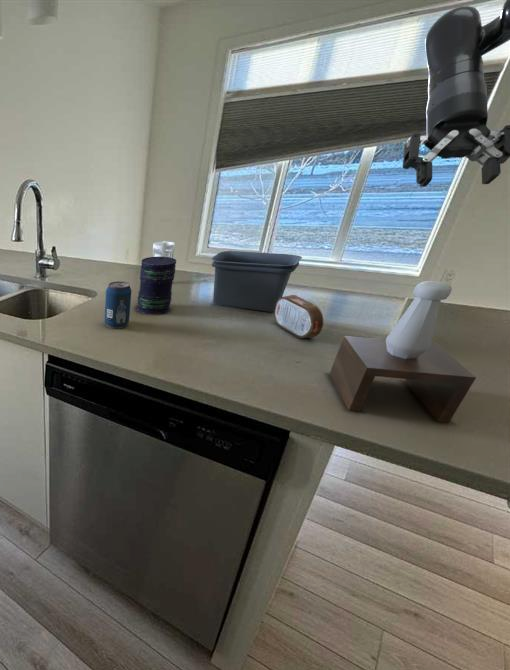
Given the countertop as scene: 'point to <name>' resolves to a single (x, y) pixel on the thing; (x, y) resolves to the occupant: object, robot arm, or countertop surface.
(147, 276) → the storage jar
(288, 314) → the tin
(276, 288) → the storage bin
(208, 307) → the countertop surface
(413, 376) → the shelf
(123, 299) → the soda can
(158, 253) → the strainer
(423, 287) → the salt shaker
